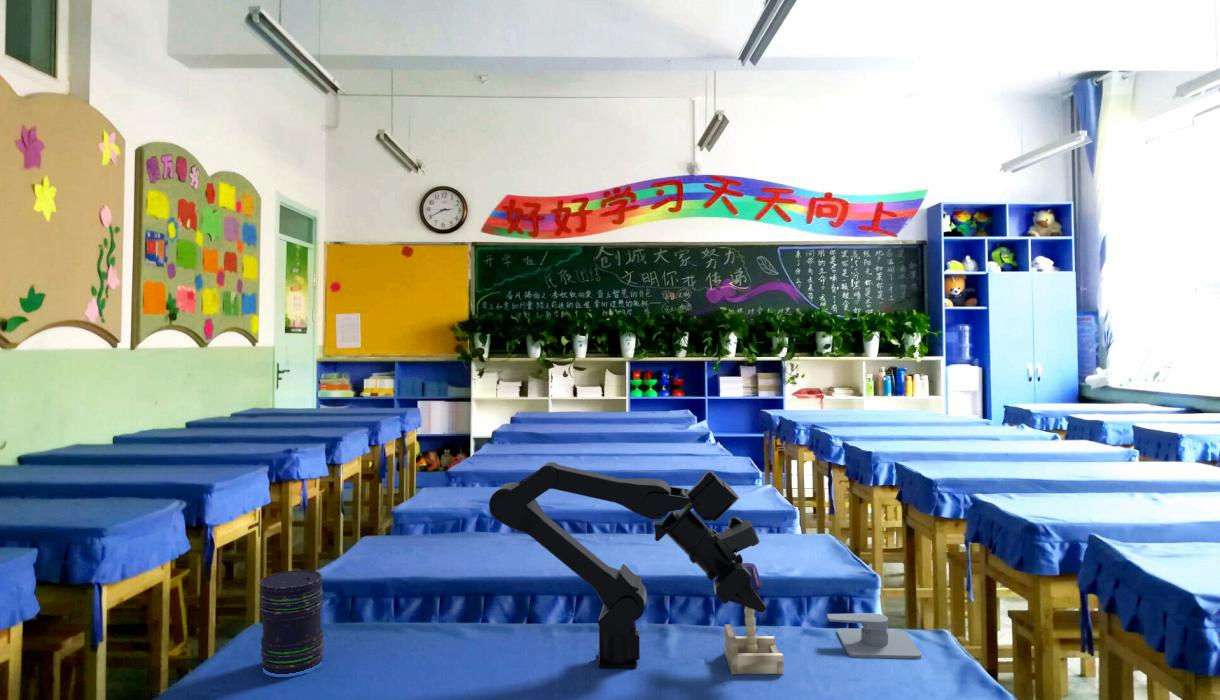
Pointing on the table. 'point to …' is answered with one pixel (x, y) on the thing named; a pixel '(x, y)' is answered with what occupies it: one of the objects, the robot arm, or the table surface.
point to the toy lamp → (749, 612)
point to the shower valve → (873, 637)
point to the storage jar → (291, 621)
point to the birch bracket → (752, 655)
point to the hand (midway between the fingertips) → (761, 604)
